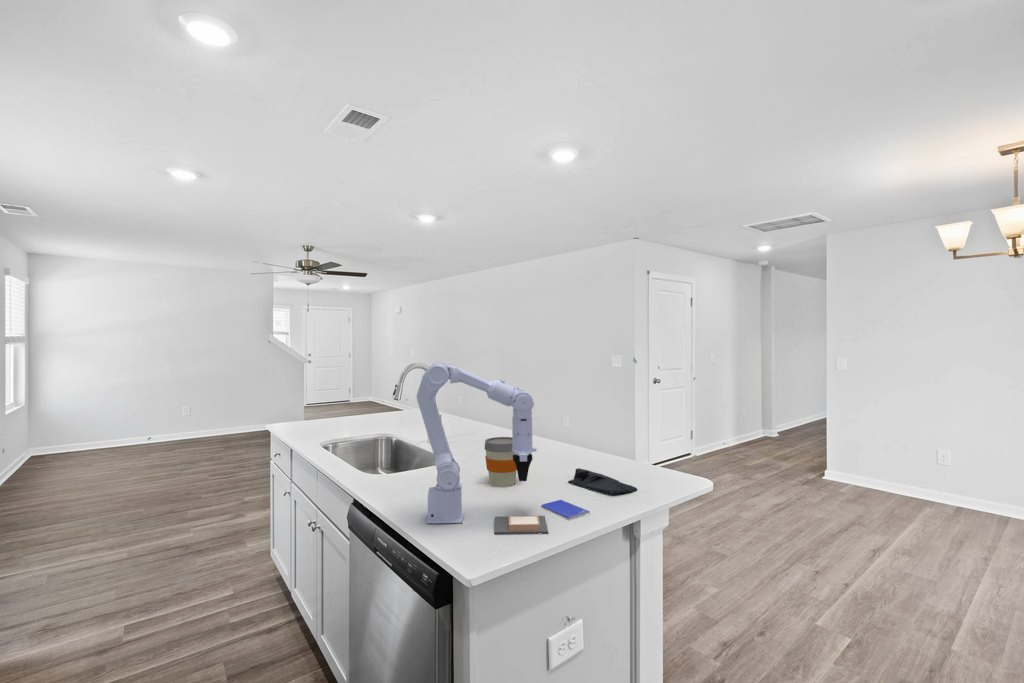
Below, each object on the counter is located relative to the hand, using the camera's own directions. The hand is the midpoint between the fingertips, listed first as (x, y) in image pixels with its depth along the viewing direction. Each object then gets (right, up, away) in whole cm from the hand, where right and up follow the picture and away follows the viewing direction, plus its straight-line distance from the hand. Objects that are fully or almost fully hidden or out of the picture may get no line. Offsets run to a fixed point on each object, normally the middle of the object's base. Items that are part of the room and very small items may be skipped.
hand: (522, 480), depth 136 cm
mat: (-1, -10, -8) cm, 13 cm away
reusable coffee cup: (-6, -10, +31) cm, 33 cm away
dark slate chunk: (+28, -10, +27) cm, 40 cm away
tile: (0, -9, -7) cm, 11 cm away
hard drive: (+12, -11, +3) cm, 17 cm away
